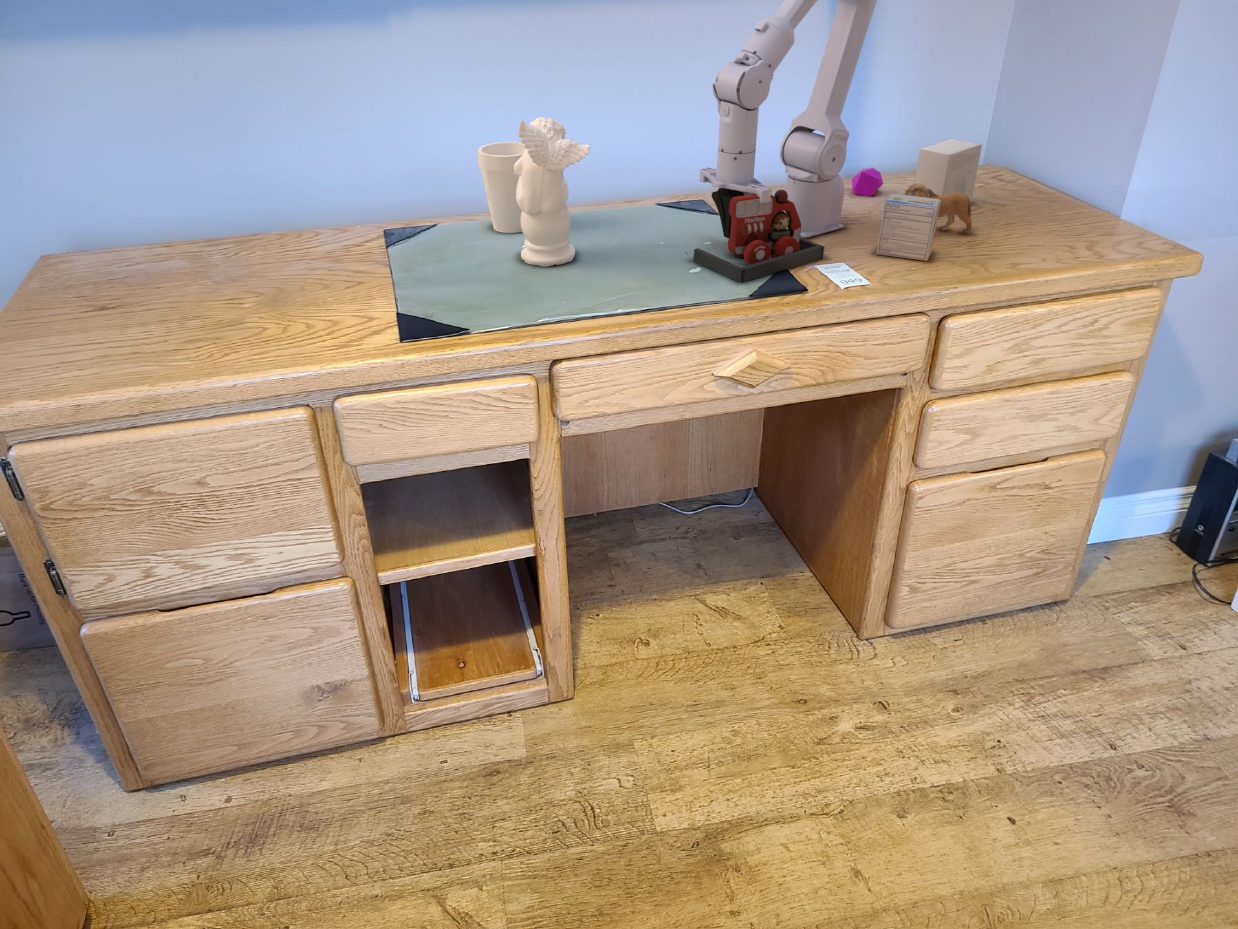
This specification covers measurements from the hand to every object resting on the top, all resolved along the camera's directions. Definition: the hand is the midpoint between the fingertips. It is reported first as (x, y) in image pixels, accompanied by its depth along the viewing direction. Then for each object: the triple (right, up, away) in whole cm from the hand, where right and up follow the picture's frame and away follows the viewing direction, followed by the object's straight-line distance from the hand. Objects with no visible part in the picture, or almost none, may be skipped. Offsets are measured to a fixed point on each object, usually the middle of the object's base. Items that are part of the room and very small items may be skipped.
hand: (731, 236), depth 143 cm
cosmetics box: (+40, +10, +19) cm, 46 cm away
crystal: (+29, +15, +26) cm, 41 cm away
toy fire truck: (+5, -4, -3) cm, 7 cm away
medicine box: (+27, -3, -2) cm, 27 cm away
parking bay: (+4, -5, -4) cm, 7 cm away
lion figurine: (+34, +1, +6) cm, 35 cm away
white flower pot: (-36, +4, +10) cm, 38 cm away
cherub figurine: (-28, -5, -3) cm, 28 cm away
